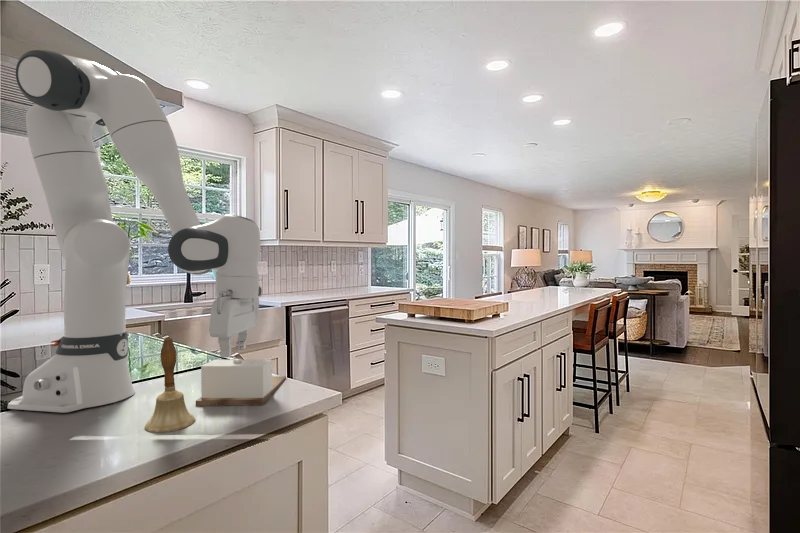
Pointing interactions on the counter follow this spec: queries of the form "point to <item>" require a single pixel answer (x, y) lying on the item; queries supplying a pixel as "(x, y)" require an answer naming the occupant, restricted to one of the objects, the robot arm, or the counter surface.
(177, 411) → the hand bell
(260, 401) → the board
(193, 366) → the counter surface
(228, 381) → the lid
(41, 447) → the counter surface
